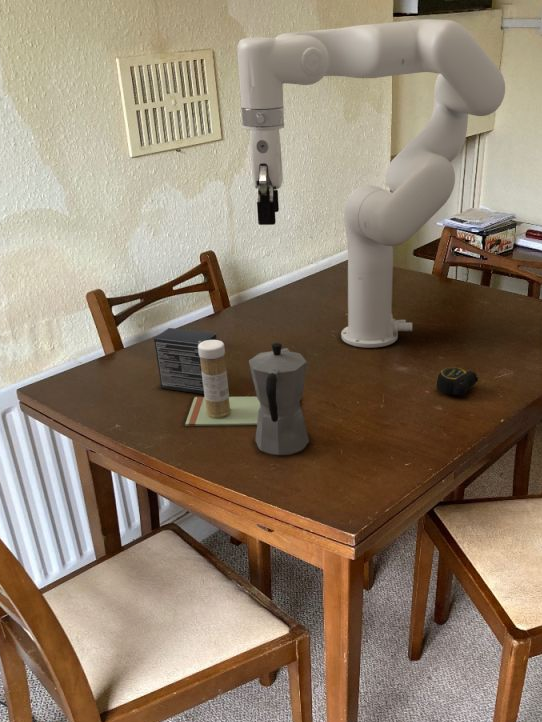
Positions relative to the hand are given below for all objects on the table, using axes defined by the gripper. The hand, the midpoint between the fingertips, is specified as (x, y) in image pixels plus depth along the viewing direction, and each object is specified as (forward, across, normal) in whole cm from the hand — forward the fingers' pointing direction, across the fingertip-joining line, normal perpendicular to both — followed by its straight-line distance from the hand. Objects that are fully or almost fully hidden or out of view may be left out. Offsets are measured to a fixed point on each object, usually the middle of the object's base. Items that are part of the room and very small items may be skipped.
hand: (268, 217), depth 147 cm
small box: (+28, -14, +16) cm, 36 cm away
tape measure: (+28, -18, -36) cm, 49 cm away
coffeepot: (+28, -39, -3) cm, 48 cm away
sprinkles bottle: (+28, -27, +9) cm, 40 cm away
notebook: (+28, -26, +4) cm, 38 cm away
